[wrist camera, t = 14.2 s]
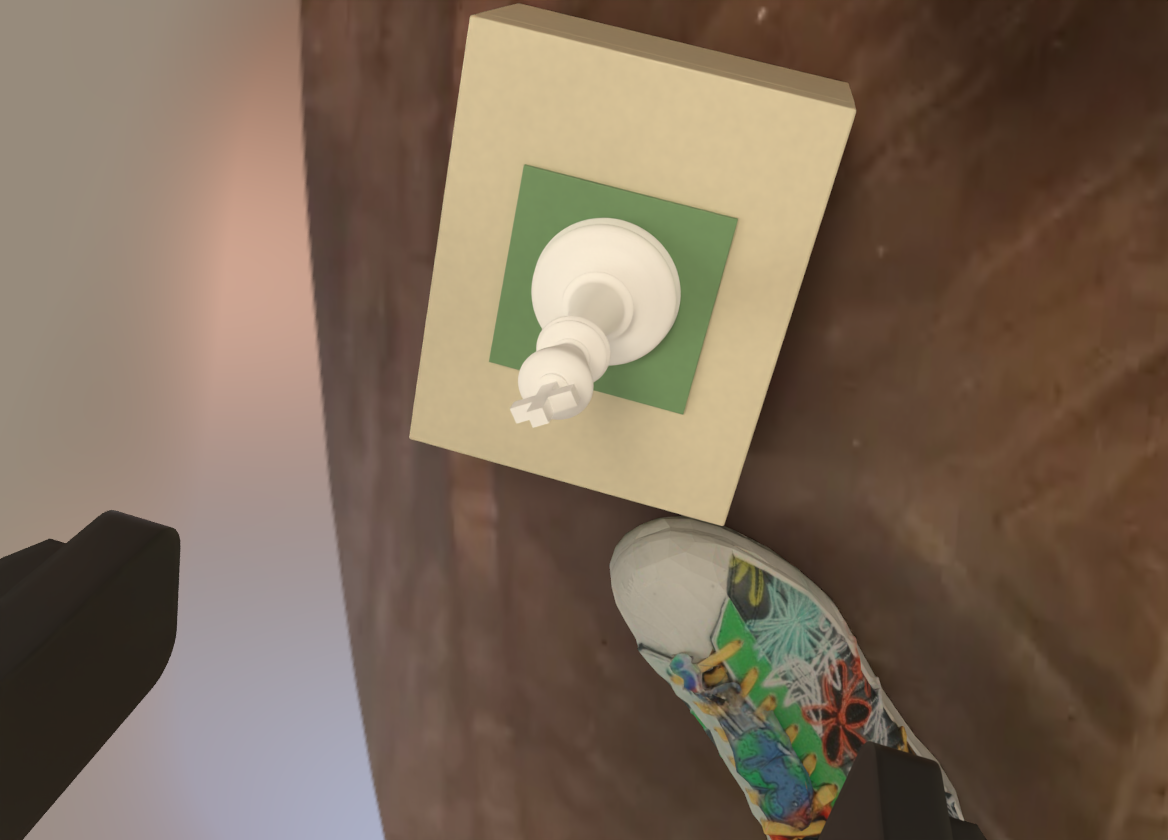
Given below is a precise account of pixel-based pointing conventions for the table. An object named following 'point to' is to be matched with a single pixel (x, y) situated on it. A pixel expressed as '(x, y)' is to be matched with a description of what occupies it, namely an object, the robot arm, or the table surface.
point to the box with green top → (642, 197)
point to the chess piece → (593, 313)
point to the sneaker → (757, 666)
